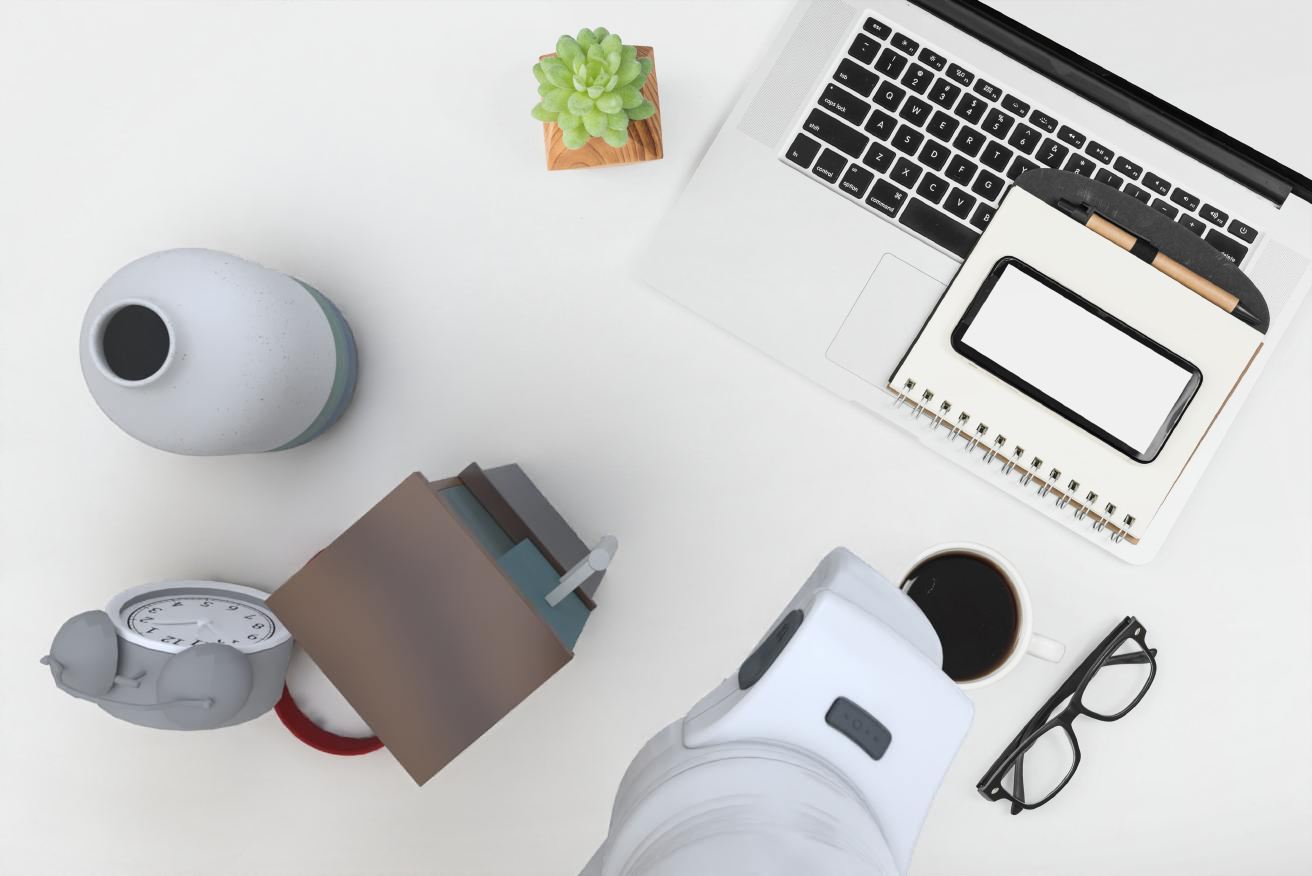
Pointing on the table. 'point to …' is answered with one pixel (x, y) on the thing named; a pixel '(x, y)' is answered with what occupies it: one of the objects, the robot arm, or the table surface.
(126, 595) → the alarm clock
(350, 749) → the headphones
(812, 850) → the robot arm
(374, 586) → the cabinet
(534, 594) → the sliding door
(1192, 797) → the table surface
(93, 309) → the vase
